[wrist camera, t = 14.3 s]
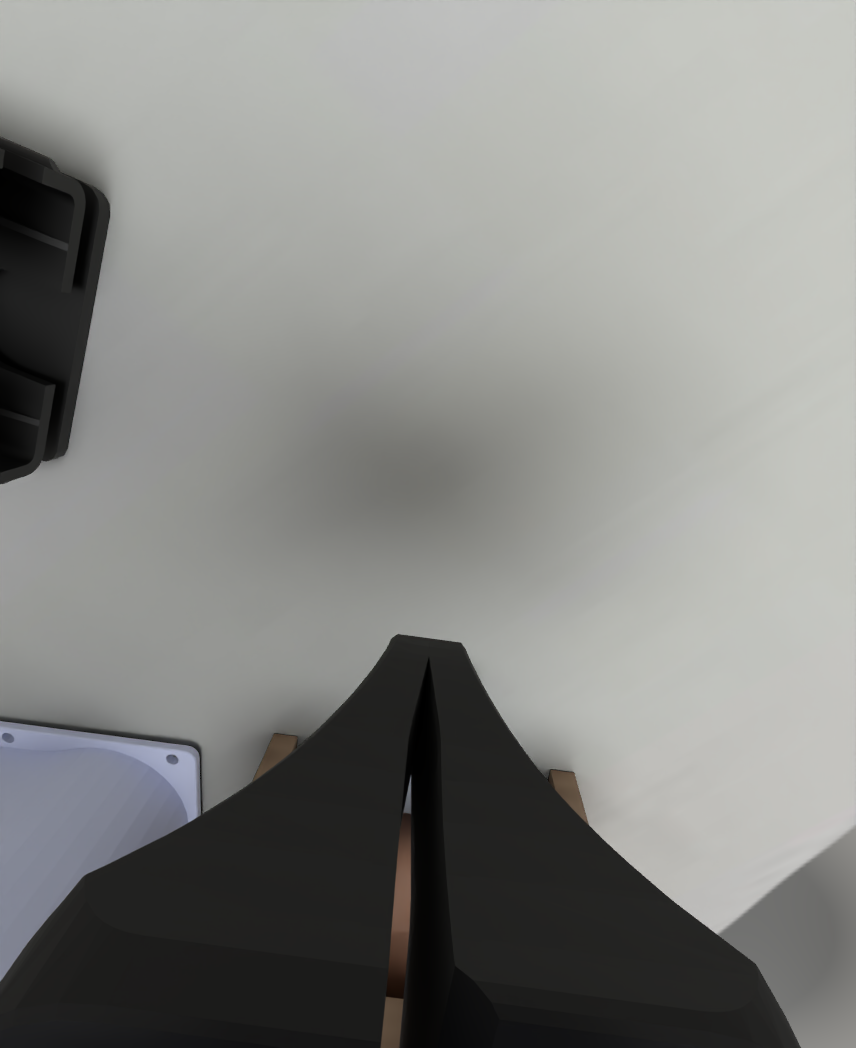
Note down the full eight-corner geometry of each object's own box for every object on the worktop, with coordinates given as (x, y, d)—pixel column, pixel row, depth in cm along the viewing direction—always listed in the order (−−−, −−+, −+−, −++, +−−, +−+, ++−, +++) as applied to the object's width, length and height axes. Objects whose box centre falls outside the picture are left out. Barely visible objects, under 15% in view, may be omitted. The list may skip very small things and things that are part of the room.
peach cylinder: (371, 876, 24) (351, 1007, 20) (364, 807, 23) (341, 929, 18) (460, 878, 24) (462, 1010, 19) (459, 808, 23) (461, 932, 18)
